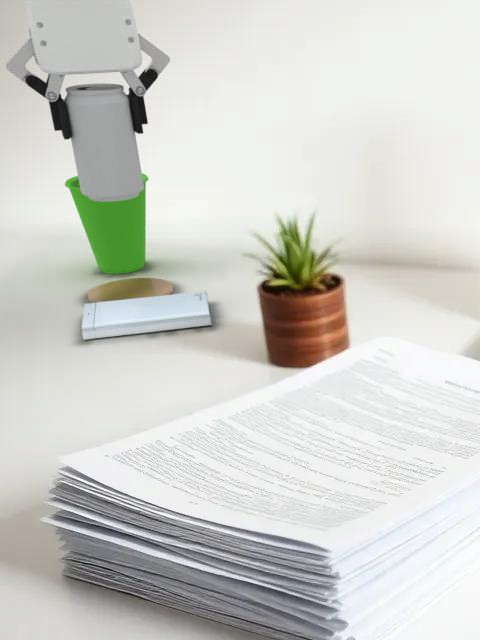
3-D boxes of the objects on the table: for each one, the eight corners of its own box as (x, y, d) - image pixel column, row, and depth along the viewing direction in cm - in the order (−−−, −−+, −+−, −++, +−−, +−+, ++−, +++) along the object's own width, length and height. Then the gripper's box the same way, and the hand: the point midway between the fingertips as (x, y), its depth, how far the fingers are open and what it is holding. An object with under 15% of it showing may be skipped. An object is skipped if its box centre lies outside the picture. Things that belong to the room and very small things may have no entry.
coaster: (76, 307, 126) (76, 304, 126) (102, 281, 134) (102, 278, 134) (161, 305, 127) (160, 302, 127) (182, 280, 135) (181, 276, 135)
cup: (74, 281, 134) (55, 189, 129) (91, 258, 142) (74, 171, 137) (155, 277, 136) (140, 187, 131) (167, 255, 144) (154, 169, 139)
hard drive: (206, 289, 127) (84, 301, 123) (209, 313, 121) (80, 326, 116) (208, 303, 128) (86, 315, 123) (212, 327, 121) (83, 341, 117)
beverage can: (100, 188, 129) (80, 81, 124) (155, 190, 129) (137, 82, 124) (71, 202, 123) (48, 90, 118) (129, 204, 123) (109, 92, 118)
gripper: (156, -44, 123) (181, 122, 130) (-27, -43, 115) (11, 134, 122) (167, -40, 117) (193, 134, 124) (-25, -38, 109) (14, 148, 116)
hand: (102, 132), depth 123 cm, fingers closed on beverage can, 6 cm apart
